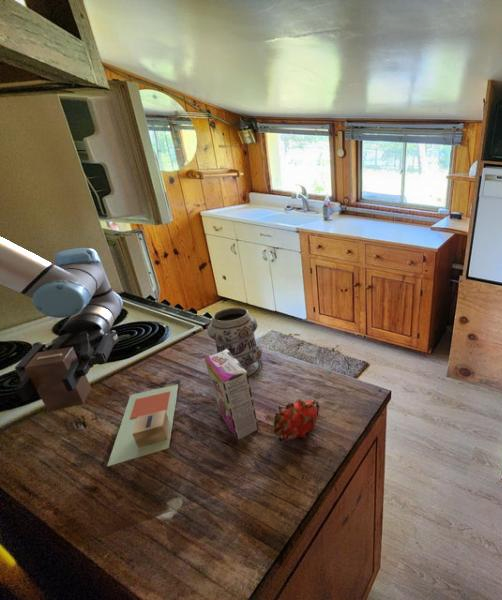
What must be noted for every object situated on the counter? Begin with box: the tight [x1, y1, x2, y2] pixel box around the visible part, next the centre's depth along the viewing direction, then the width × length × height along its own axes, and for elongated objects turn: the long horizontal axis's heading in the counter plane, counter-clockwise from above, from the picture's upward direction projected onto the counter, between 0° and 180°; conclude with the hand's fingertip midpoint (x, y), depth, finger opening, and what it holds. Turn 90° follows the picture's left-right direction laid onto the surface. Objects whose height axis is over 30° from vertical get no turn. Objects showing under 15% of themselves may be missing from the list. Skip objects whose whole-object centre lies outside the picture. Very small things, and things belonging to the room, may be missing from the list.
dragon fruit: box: [272, 398, 320, 442], centre depth 71 cm, size 8×8×12 cm
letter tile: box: [132, 410, 170, 448], centre depth 68 cm, size 5×5×4 cm
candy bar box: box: [204, 349, 259, 441], centre depth 70 cm, size 11×5×16 cm, turn 45°
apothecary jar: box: [207, 306, 263, 379], centre depth 87 cm, size 12×12×18 cm
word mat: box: [106, 383, 179, 468], centre depth 73 cm, size 10×22×1 cm, turn 27°
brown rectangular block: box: [25, 347, 92, 412], centre depth 61 cm, size 5×5×10 cm
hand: (45, 389), depth 56 cm, fingers closed on brown rectangular block, 5 cm apart
